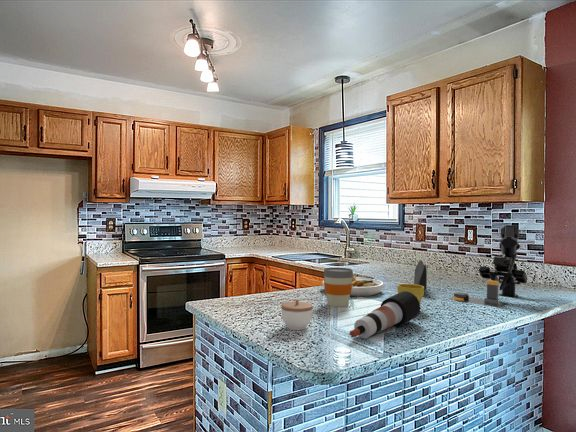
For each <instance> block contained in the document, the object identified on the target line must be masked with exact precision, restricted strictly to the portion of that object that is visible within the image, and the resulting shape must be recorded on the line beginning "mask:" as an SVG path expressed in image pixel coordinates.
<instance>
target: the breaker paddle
mask: <svg viewBox="0 0 576 432" xmlns="http://www.w3.org/2000/svg"><path fill="white" fill-rule="evenodd" d="M486 298H488V299H495V300H498V301H499V281H492V280H491V279H488V280H486Z"/></svg>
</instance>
